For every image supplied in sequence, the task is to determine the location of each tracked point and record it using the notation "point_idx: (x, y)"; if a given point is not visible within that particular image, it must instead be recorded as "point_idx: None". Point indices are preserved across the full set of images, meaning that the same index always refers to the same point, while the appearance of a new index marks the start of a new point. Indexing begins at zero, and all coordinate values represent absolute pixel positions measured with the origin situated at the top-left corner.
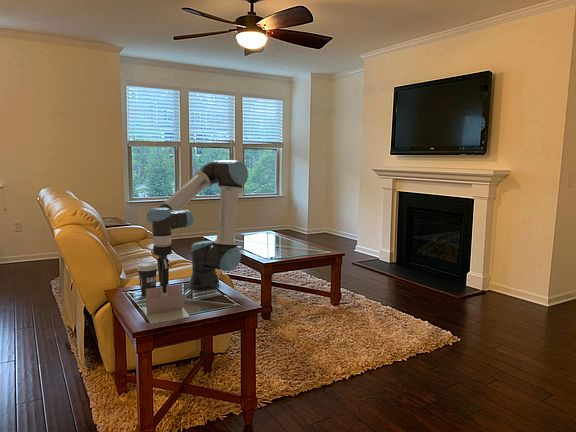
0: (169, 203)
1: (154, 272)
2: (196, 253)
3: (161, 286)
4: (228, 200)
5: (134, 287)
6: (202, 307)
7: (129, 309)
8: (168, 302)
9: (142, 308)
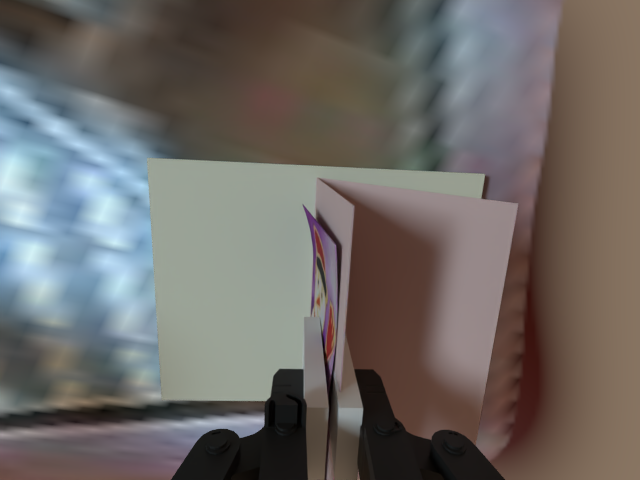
0: None
1: None
2: None
3: (356, 462)
4: None
5: None
6: (336, 17)
7: (145, 456)
8: (397, 322)
9: (175, 398)
